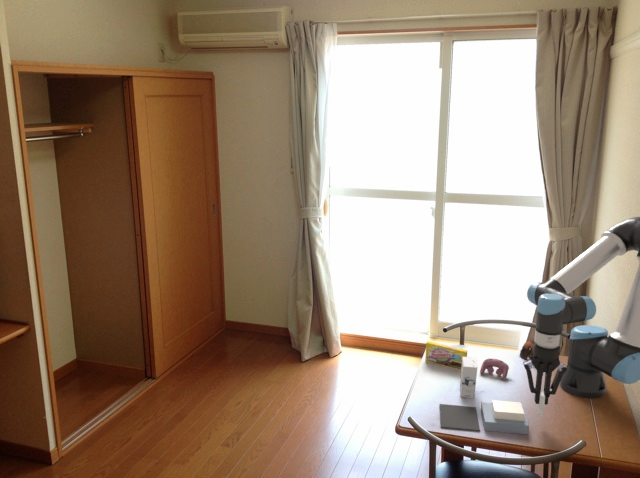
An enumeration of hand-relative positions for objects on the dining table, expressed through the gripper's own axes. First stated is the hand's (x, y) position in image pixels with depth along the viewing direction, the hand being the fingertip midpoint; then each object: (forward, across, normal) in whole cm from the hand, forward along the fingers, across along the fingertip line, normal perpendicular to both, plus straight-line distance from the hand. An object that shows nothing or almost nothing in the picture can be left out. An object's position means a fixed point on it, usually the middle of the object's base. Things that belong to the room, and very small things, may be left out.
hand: (540, 412), depth 182 cm
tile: (+1, -10, 0) cm, 10 cm away
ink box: (+5, -21, +18) cm, 28 cm away
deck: (+5, -11, 0) cm, 12 cm away
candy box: (+5, -28, +38) cm, 47 cm away
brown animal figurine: (+5, +7, +51) cm, 51 cm away
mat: (+5, -25, 0) cm, 25 cm away
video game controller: (+5, -10, +33) cm, 35 cm away
